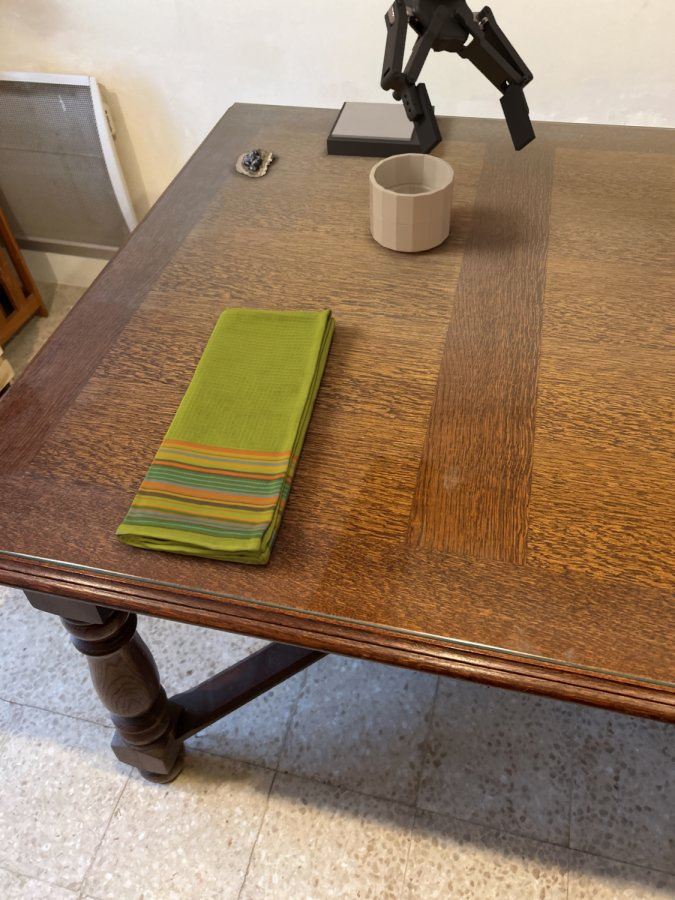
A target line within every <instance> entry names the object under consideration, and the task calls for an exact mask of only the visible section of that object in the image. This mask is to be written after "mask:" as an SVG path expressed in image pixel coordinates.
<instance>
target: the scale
mask: <svg viewBox="0 0 675 900" xmlns="http://www.w3.org/2000/svg"><path fill="white" fill-rule="evenodd" d="M435 107H436V105H432V108H433V111H434V113H435V110H436V109H435ZM326 149H327V155H333V156H335V155H336V156H352V157H369V158H384V159H386V158H388V157H391V156H394V155H400V154H408V153H415V154H423V153H422V150H421V146H420V143H419V140H418V137H417V133H416V130H415V127H414V124H413V122H410V121H409V119H408V118H407V115H406V112H405V108H404V105H403V103H389V102H388V103H387V102H386V103H385V102H363V101H360V102H359V101H344V102H343V103H342V106H341V108H340V110H339V112H338V114H337V116H336V119H335V121H334V123H333V125H332V128H331V130H330V132H329V134H328V135H327V138H326Z"/></svg>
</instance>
